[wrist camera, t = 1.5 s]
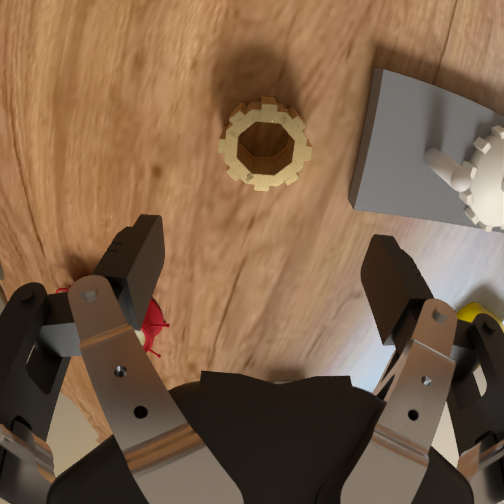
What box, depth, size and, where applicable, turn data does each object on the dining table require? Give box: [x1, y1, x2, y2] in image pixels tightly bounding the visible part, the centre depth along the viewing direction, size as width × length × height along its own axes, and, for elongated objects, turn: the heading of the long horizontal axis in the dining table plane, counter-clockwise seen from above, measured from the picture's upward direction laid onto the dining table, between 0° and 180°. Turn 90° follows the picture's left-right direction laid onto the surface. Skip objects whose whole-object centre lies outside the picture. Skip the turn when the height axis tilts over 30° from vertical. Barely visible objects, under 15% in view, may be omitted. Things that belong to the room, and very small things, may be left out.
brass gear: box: [218, 96, 312, 191], centre depth 21 cm, size 6×6×4 cm
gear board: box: [348, 68, 504, 233], centre depth 20 cm, size 12×24×7 cm, turn 86°
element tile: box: [456, 302, 504, 367], centre depth 39 cm, size 15×15×5 cm
